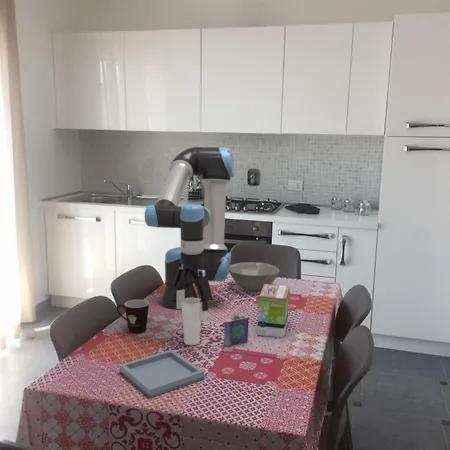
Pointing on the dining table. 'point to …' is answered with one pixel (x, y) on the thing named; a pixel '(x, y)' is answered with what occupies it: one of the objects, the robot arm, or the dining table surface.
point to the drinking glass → (191, 321)
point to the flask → (236, 330)
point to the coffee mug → (136, 315)
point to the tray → (161, 373)
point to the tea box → (273, 310)
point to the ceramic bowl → (253, 275)
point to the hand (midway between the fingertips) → (191, 313)
